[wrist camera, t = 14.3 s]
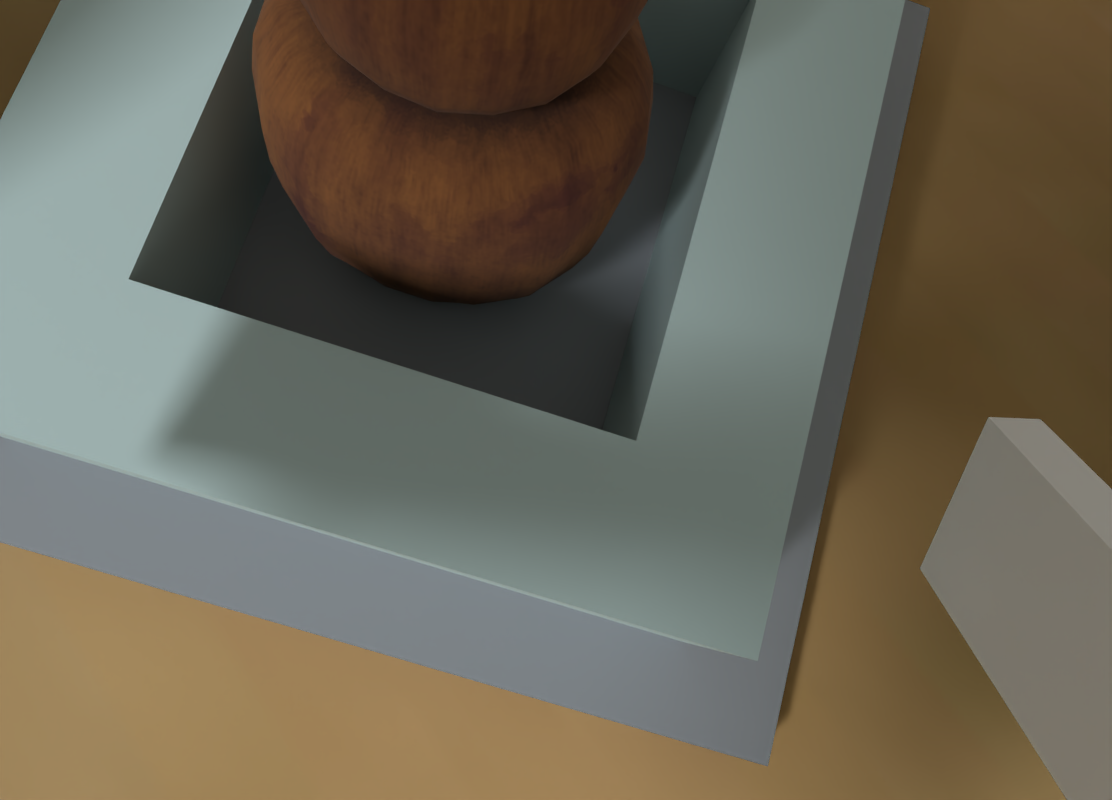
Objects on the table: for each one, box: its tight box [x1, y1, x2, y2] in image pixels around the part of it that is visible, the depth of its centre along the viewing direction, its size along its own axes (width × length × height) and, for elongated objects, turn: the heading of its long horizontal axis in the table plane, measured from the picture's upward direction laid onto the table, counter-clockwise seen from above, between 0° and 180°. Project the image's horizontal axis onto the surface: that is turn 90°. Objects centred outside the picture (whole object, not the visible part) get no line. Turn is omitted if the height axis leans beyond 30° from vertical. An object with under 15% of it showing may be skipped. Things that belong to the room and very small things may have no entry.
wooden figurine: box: [252, 0, 653, 305], centre depth 13 cm, size 7×6×15 cm
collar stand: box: [0, 0, 930, 766], centre depth 18 cm, size 20×20×6 cm
